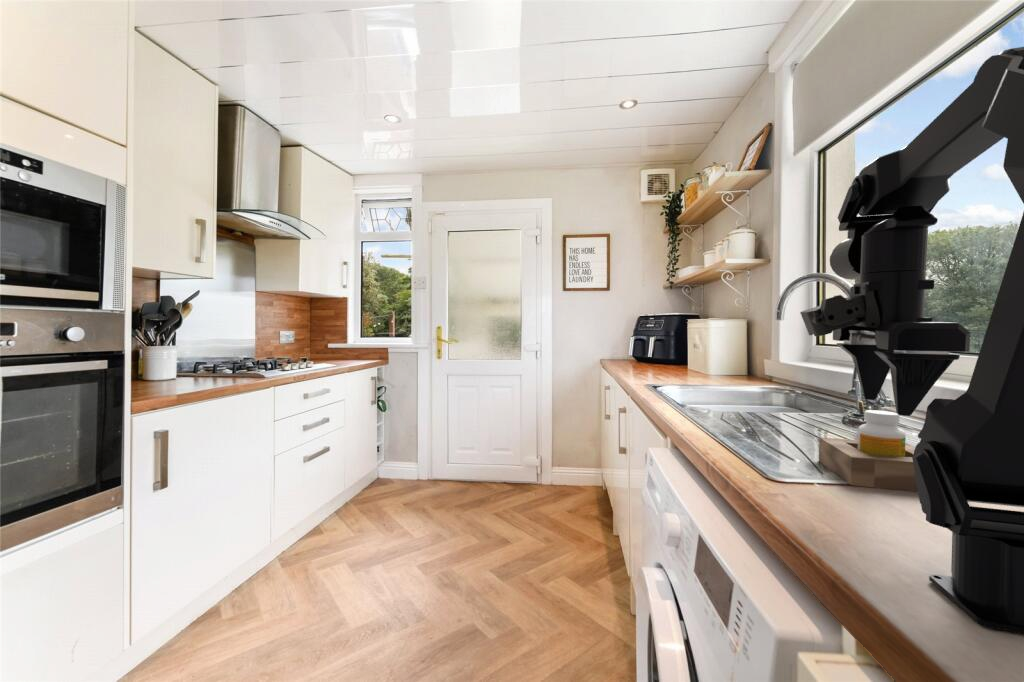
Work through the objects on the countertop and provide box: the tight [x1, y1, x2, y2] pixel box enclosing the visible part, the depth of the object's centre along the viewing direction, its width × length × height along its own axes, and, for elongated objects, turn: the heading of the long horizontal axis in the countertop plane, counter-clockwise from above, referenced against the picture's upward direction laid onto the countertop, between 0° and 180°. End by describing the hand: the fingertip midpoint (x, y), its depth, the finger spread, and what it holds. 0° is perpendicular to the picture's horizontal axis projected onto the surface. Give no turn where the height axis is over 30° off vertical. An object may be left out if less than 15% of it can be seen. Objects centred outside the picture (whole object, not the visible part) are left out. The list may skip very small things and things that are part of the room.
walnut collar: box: [818, 436, 918, 493], centre depth 64 cm, size 12×12×4 cm
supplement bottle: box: [857, 409, 907, 457], centre depth 64 cm, size 5×5×10 cm
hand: (885, 406), depth 50 cm, fingers open, 9 cm apart
